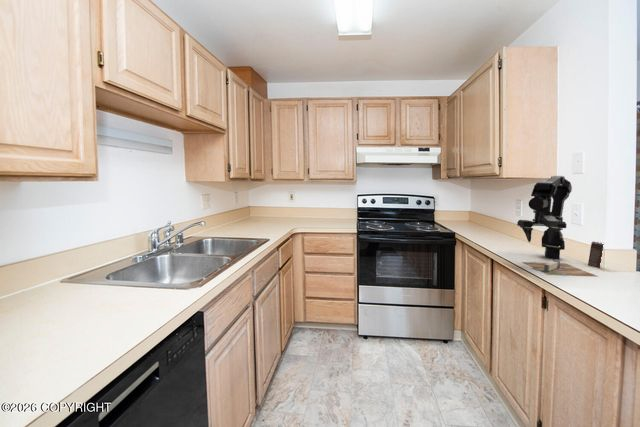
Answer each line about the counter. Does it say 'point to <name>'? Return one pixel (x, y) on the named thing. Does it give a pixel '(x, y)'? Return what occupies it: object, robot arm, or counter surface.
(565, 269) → the dial board
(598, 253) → the box
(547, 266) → the dial lever
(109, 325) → the counter surface
